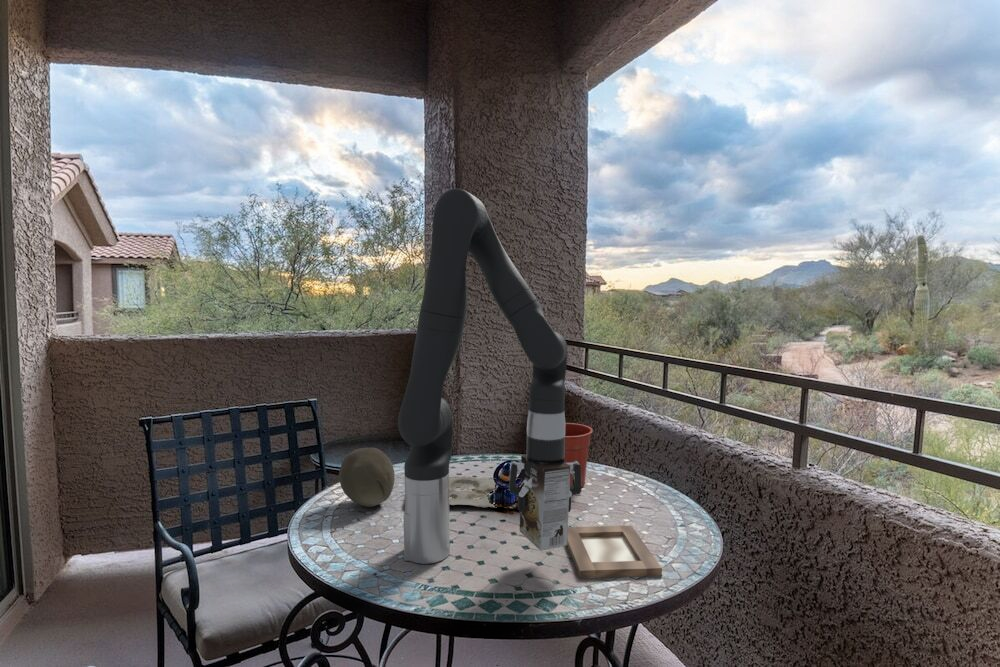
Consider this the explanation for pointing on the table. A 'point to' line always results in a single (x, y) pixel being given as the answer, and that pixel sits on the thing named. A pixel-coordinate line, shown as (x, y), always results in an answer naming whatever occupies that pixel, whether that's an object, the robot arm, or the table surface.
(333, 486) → the table surface
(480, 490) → the stone relief
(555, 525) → the coffee box
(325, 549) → the table surface
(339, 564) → the table surface
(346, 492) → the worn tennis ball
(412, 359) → the robot arm
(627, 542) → the walnut frame
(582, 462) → the flower pot
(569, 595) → the table surface
